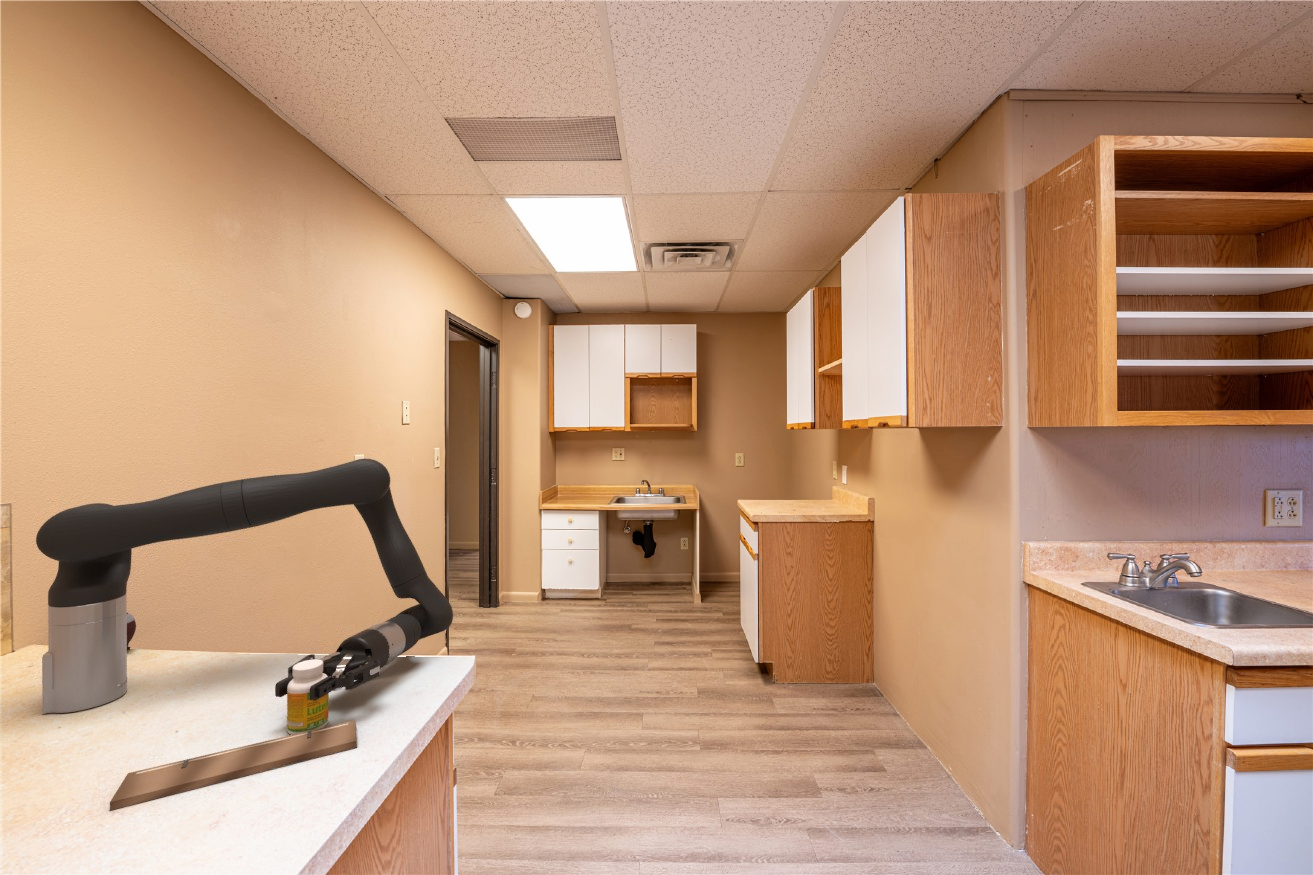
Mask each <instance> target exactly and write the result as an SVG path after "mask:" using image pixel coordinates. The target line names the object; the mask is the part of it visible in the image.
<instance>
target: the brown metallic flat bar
mask: <svg viewBox="0 0 1313 875" xmlns="http://www.w3.org/2000/svg"><path fill="white" fill-rule="evenodd" d="M356 721H357V720H356V719H355V720H351V721H347V722H343V723H342V722H341V723H337V724H333V725H329V726H324V727H323V728H320V729H316V730H311V731H307V732H303V733H298V734H294V735H291V734H289V735H286V736H281V737H277V738H274V739H269V740H265V741H260V742H256V743H251V744H247V745H243V746H238V747H235V748H230V749H226V750H221V751H217V752H214V753H209V754H205V755H200V756H195V757H192V758H187V759H183V760H179V761H175V762H170V763H166V764H162V765H158V766H153V767H148V768H144V769H139V770H136V771H131V772H127V774H126V775H125V777H124V779H122V780H123V781H122V782H121V784H120V785H119V786H118V788H117V790H116V791H115V793H114V795H113V796H112V798H111V800H110V801H109V811H114V810H117V809H121V808H122V809H123V808H125V807H130V806H133V805H136V804H140V803H145V802H149V801H152V800H156V799H157V800H158V799H161V798H164V797H167V796H168V797H169V796H172V795H173V796H174V795H176V794H180V793H184V792H188V791H192V790H196V789H200V788H203V787H208V786H211V785H216V784H219V783H223V782H227V781H231V780H235V779H240V778H243V777H247V776H251V775H254V774H258V773H262V772H266V771H270V770H274V769H275V770H276V769H278V768H283V767H286V766H290V765H294V764H298V763H301V762H305V761H309V760H313V759H317V758H322V757H325V756H328V755H329V756H330V755H333V754H337V753H341V752H345V751H348V750H352V749H355V748H357V747H358V742H357V741H358V739H357V738H358V736H357V722H356Z"/></svg>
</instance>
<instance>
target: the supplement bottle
mask: <svg viewBox="0 0 1313 875" xmlns="http://www.w3.org/2000/svg"><path fill="white" fill-rule="evenodd" d="M318 659H319V658H315V659H314V660H306V661H303V662H300V663H297V662H296V663H297V664H296V665H294V664H293V665H294V666H293V677H294V679H293V680H291V681H290V682H289V684H288V687H287V694H286V701H287V702H286V706H287V708H286V709H287V710H286V713H287V715H286V717H287V719H286V730H287V732H288V734H289V735H294V734H298V733H303V732H307V731H311V730H316V729H320V728H324V727H326V726H327V724H328V722H329V711H330V710H329V705H330V704H329V699H330V698H329V697H330V696H329V694H330V693H328V694H326V695H325V696H323V697H321V698H319V699H318V700H316V701H312V700H310V687H311V686H312V685H314V684H316V683H317V682H319V681H321V680H323V679H324V678H326V677H328V676H327V675H326V674H324V673H322V672H323V661H322V660H318Z"/></svg>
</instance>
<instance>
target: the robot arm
mask: <svg viewBox="0 0 1313 875" xmlns="http://www.w3.org/2000/svg"><path fill="white" fill-rule="evenodd" d="M390 486H391V475H390V472H389V470H388V469H387V467H386V466H385V465H384V464H383V463H381V462H380V461H378V460H376V459H373V458H359V459H355V460H351V461H348V462H345V463H342V464H341V463H340V464H337V465H333V466H330V467H326V468H321V469H317V470H312V471H308V472H300V473H288V474H287V473H285V474H274V475H264V476H263V475H262V476H257V477H249V478H242V479H235V480H230V481H224V482H218V483H214V484H209V485H205V486H200V487H196V488H192V489H189V490H185V491H181V492H176V493H174V494H171V495H166V496H164V497H160V498H156V499H152V500H147V501H142V502H135V503H128V504H127V503H125V504H118V505H113V504H109V503H100V502H97V503H95V502H94V503H88V504H82V505H79V506H75V507H71V508H67V509H64V510H61V511H60V512H57V513H56V514H54V515H52V516H51V517H50V518H48V519H47V520H46V521H45V522H44V523H43V524H42V525H41V526H40V528H39V530H38V531H37V534H36V537H35V542H36V546H37V549H38V550H39V551H40V552H41V554H43V555H45V556H46V557H47V558H49V559H51V560H54V561H57V562H58V568H57V573H56V576H55V578H54V580H53V582H52V584H51V586H50V587H49V589H48V592H47V626H48V627H47V631H48V632H47V634H48V636H47V637H48V638H47V642H48V643H47V644H48V646H47V648H48V650H47V651H46V652H45V653H44V654H42V657H41V659H42V660H41V669H42V670H41V671H42V673H41V676H42V677H41V678H42V680H41V681H42V682H41V683H42V684H41V685H42V691H41V693H42V694H41V696H42V699H41V700H42V701H41V702H42V705H41V707H42V708H41V709H42V710H41V711H42V715H44V714H51V713H53V714H56V713H57V714H62V713H64V714H65V713H72V712H80V711H83V710H87V709H92V708H96V707H99V706H102V705H105V704H108V703H111V702H112V701H115V700H117V699H119V698H120V697H122V696H124V695H125V694H126V693H127V691H128V665H127V664H128V659H127V658H128V655H127V654H128V650H127V609H128V608H127V607H128V606H127V603H128V602H127V601H128V600H127V585H128V581H129V578H130V574H131V571H132V553H133V552H132V549H136V548H141V547H142V546H143V547H144V546H146V545H148V546H149V545H152V544H156V543H161V542H168V541H177V540H184V539H190V538H191V539H192V538H198V537H205V536H210V535H211V536H213V535H218V534H223V533H224V534H225V533H231V532H235V531H236V532H237V531H239V530H240V531H241V530H245V529H249V528H251V529H252V528H256V527H260V526H264V525H267V524H271V523H275V522H279V521H282V520H285V519H287V518H291V517H294V516H297V515H300V514H303V513H306V512H310V511H313V510H318V509H325V508H334V507H340V506H349V505H351V506H352V505H353V506H354V507H355V509H356V510H357V512H358V513H359V515H360V516H361V518H362V520H363V522H364V523H365V525H366V527H367V529H368V531H369V533H370V536H371V539H372V541H373V544H374V547H375V549H376V552H377V555H378V558H379V561H380V564H381V566H382V568H383V571H384V574H385V576H386V578H387V579H388V582H389V584H390V587H391V589H392V591H393V593H394V595H395V596H396V598H397V599H400V600H401V599H413V600H415V602H417V604H415V605H413V606H410V607H409V608H406V609H404V610H402V611H401V612H399V613H398V614H396V615H395V616H393V617H391V618H388V619H387V620H385V621H382V622H380V623H377V624H373V625H372V626H369V627H368V628H366V629H364V630H362V631H360V632H357V633H356V634H354V635H352V636H349V637H347V638H346V639H344V640H343V641H342V642H341V643H340V644H339V646H338V647H337V649H336V651H335V652H332V653H330V654H328V655H325V656H323V657H322V658H317V659H318V660H322V661H323V672H322V673H324V674H326V675H327V676H328V677H326V678H324V679H323V680H321V681H319V682H317V683H316V684H314V685H312V686H311V687H310V700H312V701H316V700H318V699H319V698H321V697H323V696H325V695H326V694H328V693H329V694H330V693H332V692H337V691H340V690H341V689H342V688H345V690H346V691H351V690H354V689H355V688H357V687H360V686H362V685H364V684H366V683H368V682H370V681H372V680H375V679H376V678H378V677H380V676H381V675H380V672H381V669H383V668H385V667H386V666H388V665H389V664H390V663H392V662H393V661H394V660H396V659H397V658H398V657H399V656H401V655H403V654H404V653H405V652H408V651H409V650H410V649H412V648H413V647H414V646H416V644H417V643H418V642H419V641H420V640H422V639H425V638H427V637H430V636H433V635H436V634H439V633H442V632H444V631H446V630H448V629H449V628H450V627H451V625H452V624H453V620H454V619H453V618H454V613H453V612H454V611H453V607H452V605H451V603H450V601H449V600H448V599H447V597H446V596H445V595H444V594H443V592H442V591H441V590H440V589H439V588H438V587H437V585H436V584H435V583H434V582H433V581H432V579H430V577H429V576H428V573H427V571H426V569H425V566H424V564H423V562H422V560H421V557H420V555H419V553H418V552H417V549H416V547H415V544H414V543H413V542H412V540H411V538H410V535H409V534H408V533H407V531H406V529H405V527H404V525H403V523H402V520H401V518H400V516H399V514H398V511H397V509H396V506H395V502H394V498H393V495H392V491H391V487H390ZM314 659H316V655H315V653H312V654H311V653H310V654H307V655H306V656H304V657H303V658H302V659H300V660H299V661H297V662H295V663H294V664H293V665H291V666H289V667H287V677H285V678H283V679H281V680H279V681H278V682H276V683H275V687H274V688H275V689H274V690H275V691H274V692H275V693H274V695H275V697H276V698H282V697H284V696H287V687H288V684H289V682H290V681H291V680H293V679H294V677H293V666H294V665H296V664H297V663H300V662H303V661H306V660H314Z"/></svg>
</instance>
